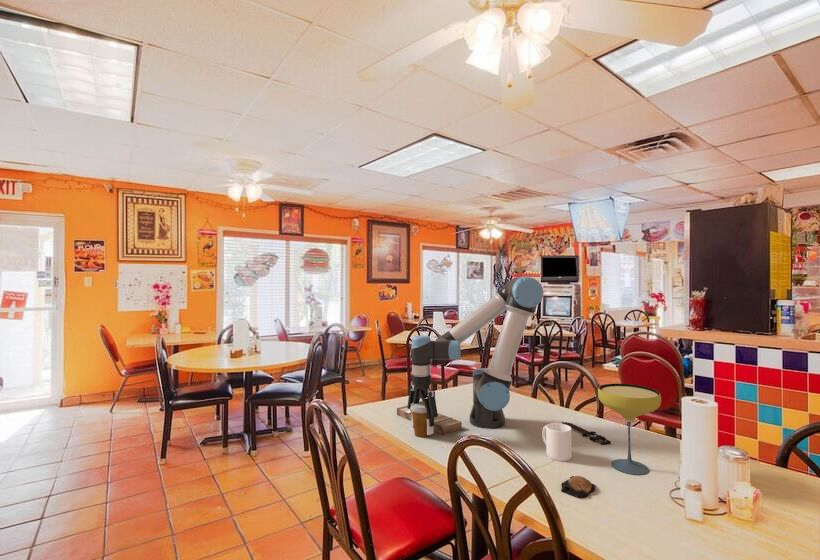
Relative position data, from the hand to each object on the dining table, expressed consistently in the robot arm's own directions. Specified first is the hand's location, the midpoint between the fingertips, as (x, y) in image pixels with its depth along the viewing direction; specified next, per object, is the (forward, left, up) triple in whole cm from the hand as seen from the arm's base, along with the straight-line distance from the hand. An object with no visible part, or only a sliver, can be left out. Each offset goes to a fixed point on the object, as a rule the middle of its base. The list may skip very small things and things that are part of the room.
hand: (422, 430), depth 165 cm
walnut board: (+3, -14, -1) cm, 15 cm away
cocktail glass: (-73, +4, -2) cm, 74 cm away
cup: (-50, +2, -2) cm, 50 cm away
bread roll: (-58, +24, -2) cm, 63 cm away
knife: (-59, -23, -2) cm, 64 cm away
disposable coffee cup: (0, 0, -2) cm, 2 cm away
